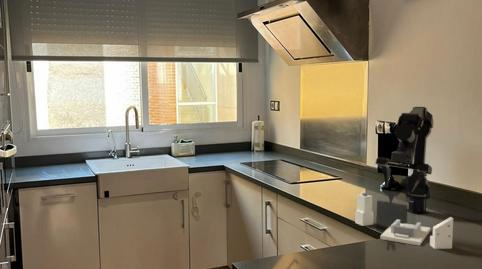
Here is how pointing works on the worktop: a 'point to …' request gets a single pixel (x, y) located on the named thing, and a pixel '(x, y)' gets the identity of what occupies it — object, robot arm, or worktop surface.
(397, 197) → the worktop surface
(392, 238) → the rail mount
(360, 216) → the block
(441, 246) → the white angled block
